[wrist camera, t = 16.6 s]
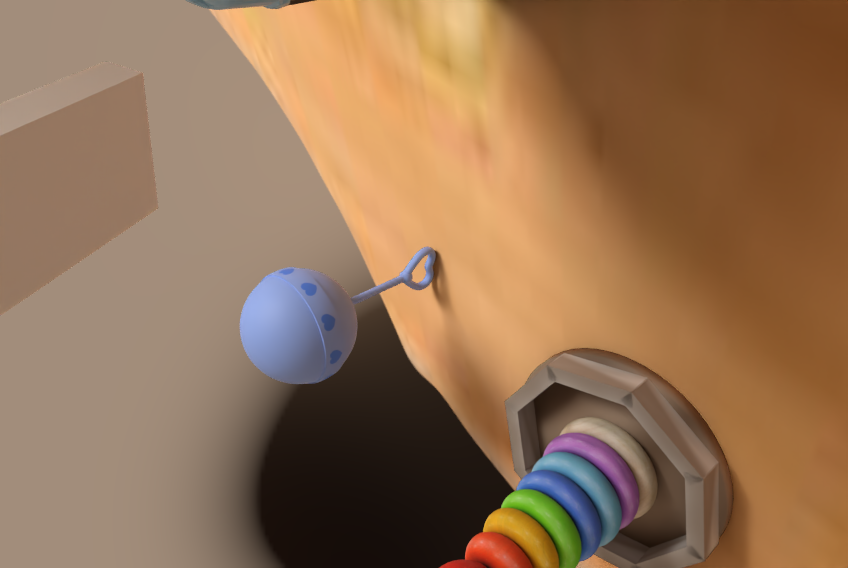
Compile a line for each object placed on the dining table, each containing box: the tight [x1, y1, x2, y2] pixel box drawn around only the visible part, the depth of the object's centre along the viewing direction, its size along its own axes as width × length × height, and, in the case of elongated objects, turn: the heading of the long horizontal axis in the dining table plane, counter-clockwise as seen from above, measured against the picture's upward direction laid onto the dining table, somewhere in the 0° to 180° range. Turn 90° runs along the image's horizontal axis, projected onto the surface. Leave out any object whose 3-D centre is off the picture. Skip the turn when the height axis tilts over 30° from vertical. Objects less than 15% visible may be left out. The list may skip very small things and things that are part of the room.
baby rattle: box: [240, 247, 436, 384], centre depth 53 cm, size 9×9×18 cm
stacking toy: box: [440, 417, 658, 568], centre depth 45 cm, size 8×8×19 cm
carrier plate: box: [505, 348, 733, 568], centre depth 50 cm, size 17×17×3 cm
